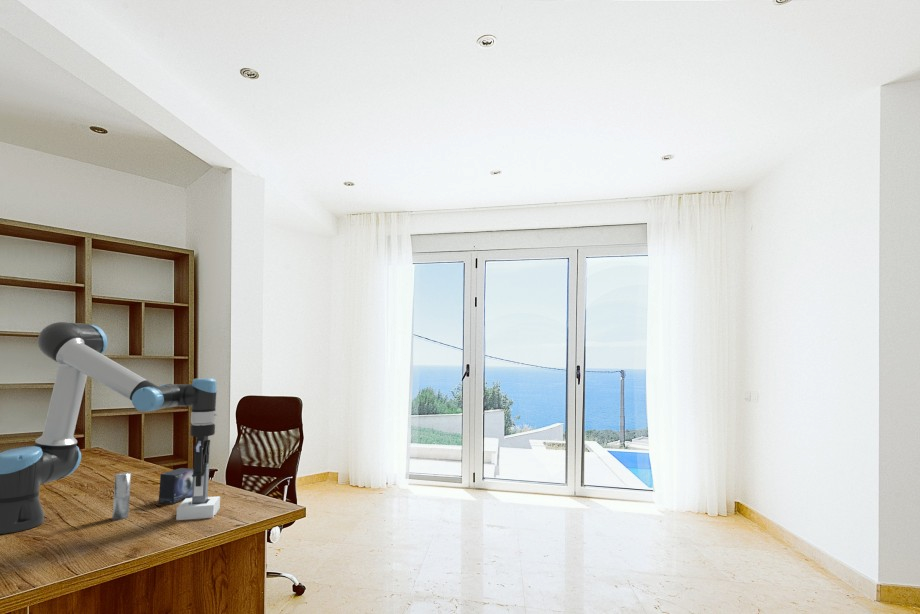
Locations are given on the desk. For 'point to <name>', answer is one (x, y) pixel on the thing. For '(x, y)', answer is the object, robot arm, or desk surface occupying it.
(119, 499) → the round bit
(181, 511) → the socket block
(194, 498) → the square bit
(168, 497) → the small box
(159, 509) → the desk surface
